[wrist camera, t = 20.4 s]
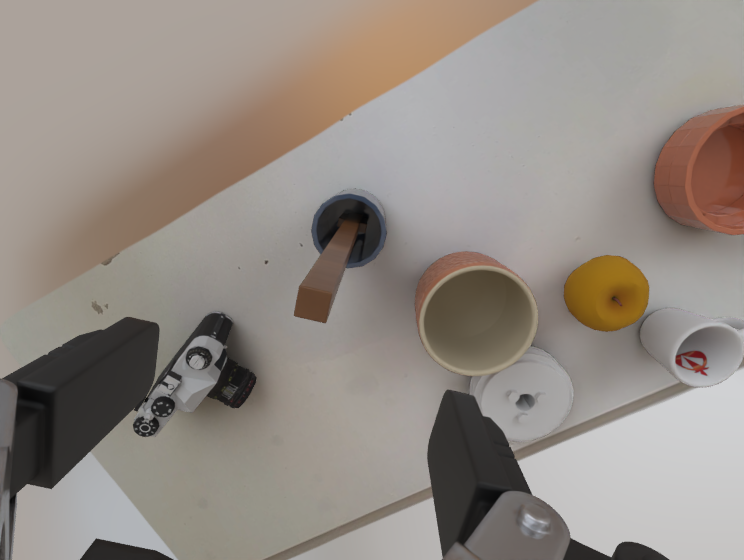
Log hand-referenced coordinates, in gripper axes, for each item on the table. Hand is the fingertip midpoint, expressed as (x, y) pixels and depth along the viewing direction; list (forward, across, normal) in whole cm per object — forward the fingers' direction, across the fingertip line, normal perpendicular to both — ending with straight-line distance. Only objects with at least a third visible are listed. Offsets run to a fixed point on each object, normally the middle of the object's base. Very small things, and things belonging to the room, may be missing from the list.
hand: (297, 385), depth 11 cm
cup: (+41, -42, +4) cm, 59 cm away
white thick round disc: (+41, -25, +18) cm, 51 cm away
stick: (+40, +1, +1) cm, 40 cm away
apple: (+41, -29, +2) cm, 50 cm away
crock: (+41, +1, +1) cm, 41 cm away
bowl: (+41, -38, -15) cm, 58 cm away
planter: (+41, -14, +7) cm, 44 cm away
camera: (+41, +15, +25) cm, 50 cm away
